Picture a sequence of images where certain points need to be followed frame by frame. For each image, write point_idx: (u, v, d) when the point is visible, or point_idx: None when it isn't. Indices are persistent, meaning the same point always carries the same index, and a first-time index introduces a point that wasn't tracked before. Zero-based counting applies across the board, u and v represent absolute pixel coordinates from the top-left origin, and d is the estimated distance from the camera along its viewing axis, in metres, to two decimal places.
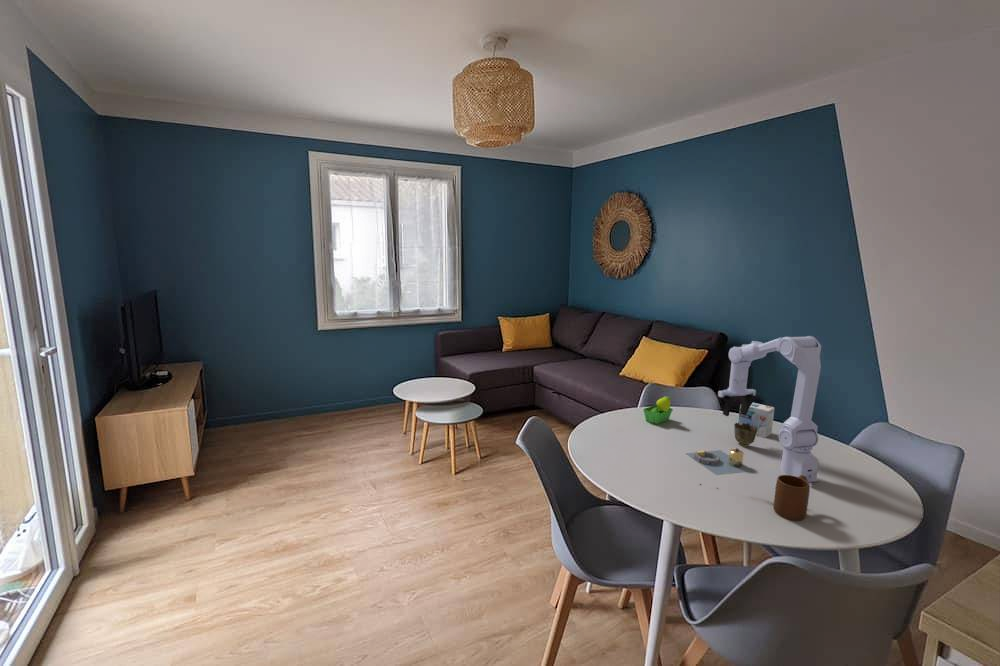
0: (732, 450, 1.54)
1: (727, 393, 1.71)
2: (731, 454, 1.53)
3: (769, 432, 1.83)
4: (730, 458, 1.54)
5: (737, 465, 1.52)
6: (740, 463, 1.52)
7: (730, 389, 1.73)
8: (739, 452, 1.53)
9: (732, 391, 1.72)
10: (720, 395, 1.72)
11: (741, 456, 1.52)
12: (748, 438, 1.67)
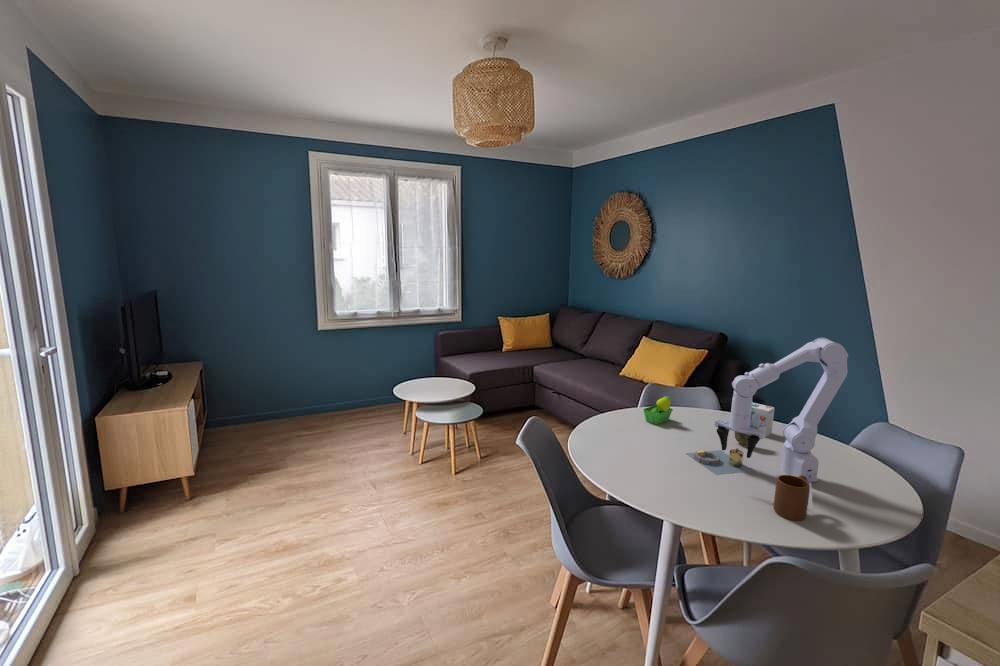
0: (732, 450, 1.54)
1: (721, 424, 1.55)
2: (731, 454, 1.53)
3: (769, 432, 1.83)
4: (730, 458, 1.54)
5: (737, 465, 1.52)
6: (740, 463, 1.52)
7: None
8: (739, 452, 1.53)
9: (729, 424, 1.53)
10: None
11: (741, 456, 1.52)
12: None
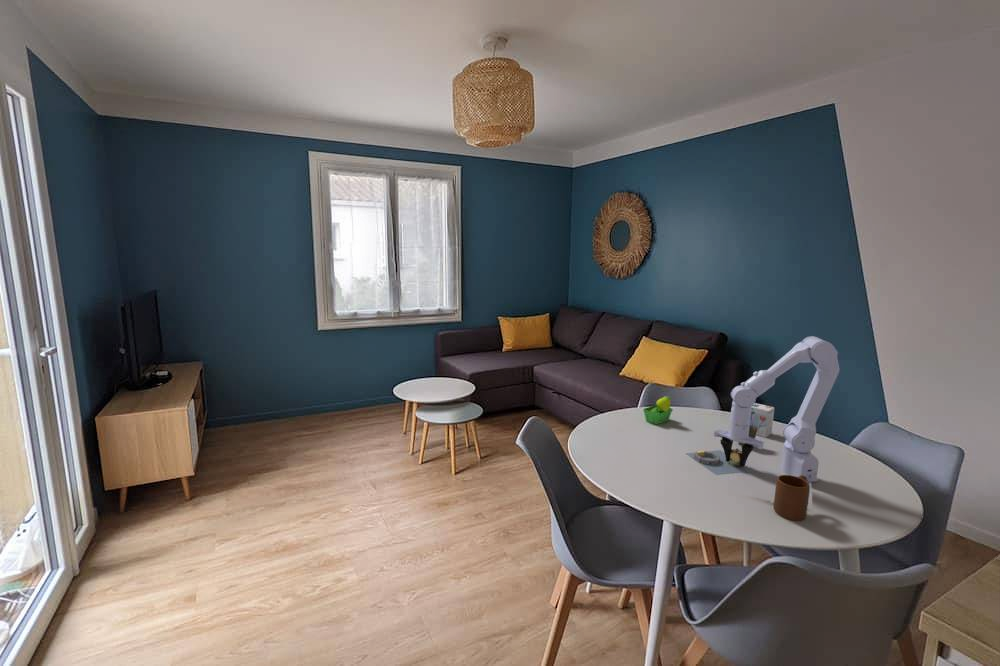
0: (732, 450, 1.54)
1: (720, 433, 1.55)
2: (731, 454, 1.53)
3: (769, 432, 1.83)
4: (730, 458, 1.54)
5: (737, 465, 1.52)
6: (740, 463, 1.52)
7: None
8: (739, 452, 1.53)
9: (728, 434, 1.54)
10: None
11: (741, 456, 1.52)
12: None
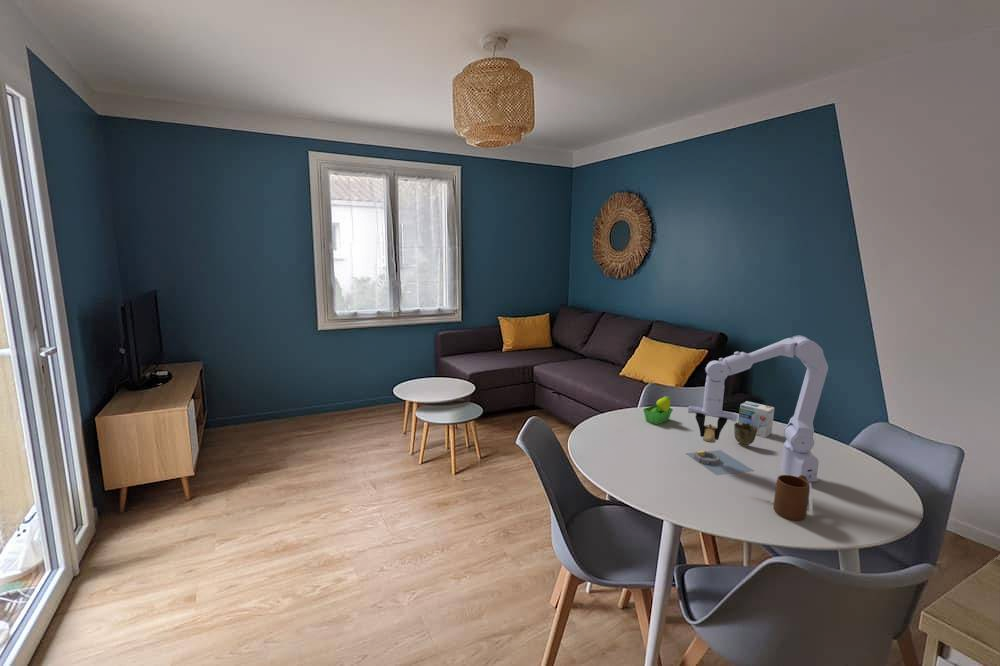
0: (706, 426, 1.56)
1: (694, 409, 1.56)
2: (706, 430, 1.55)
3: (769, 432, 1.83)
4: (705, 434, 1.55)
5: (712, 440, 1.54)
6: (714, 438, 1.54)
7: None
8: (713, 427, 1.55)
9: (702, 409, 1.55)
10: (688, 410, 1.58)
11: (715, 431, 1.54)
12: (748, 438, 1.67)
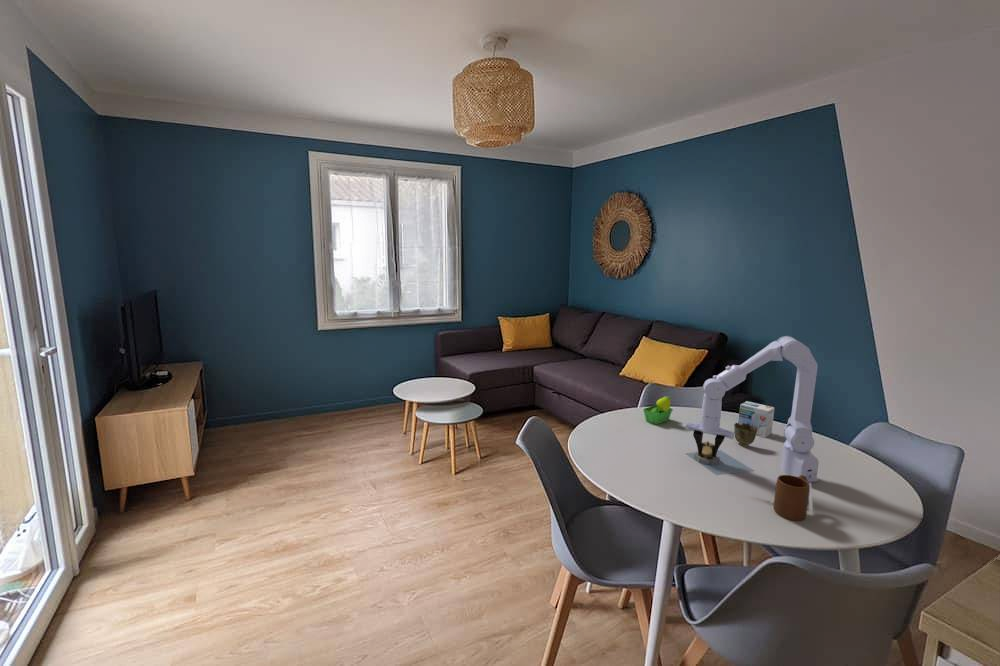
0: (703, 443, 1.57)
1: (692, 427, 1.57)
2: (703, 447, 1.56)
3: (769, 432, 1.83)
4: (702, 451, 1.56)
5: (709, 458, 1.55)
6: (712, 455, 1.55)
7: None
8: (710, 445, 1.56)
9: (700, 426, 1.56)
10: (686, 427, 1.59)
11: (713, 449, 1.55)
12: (748, 438, 1.67)
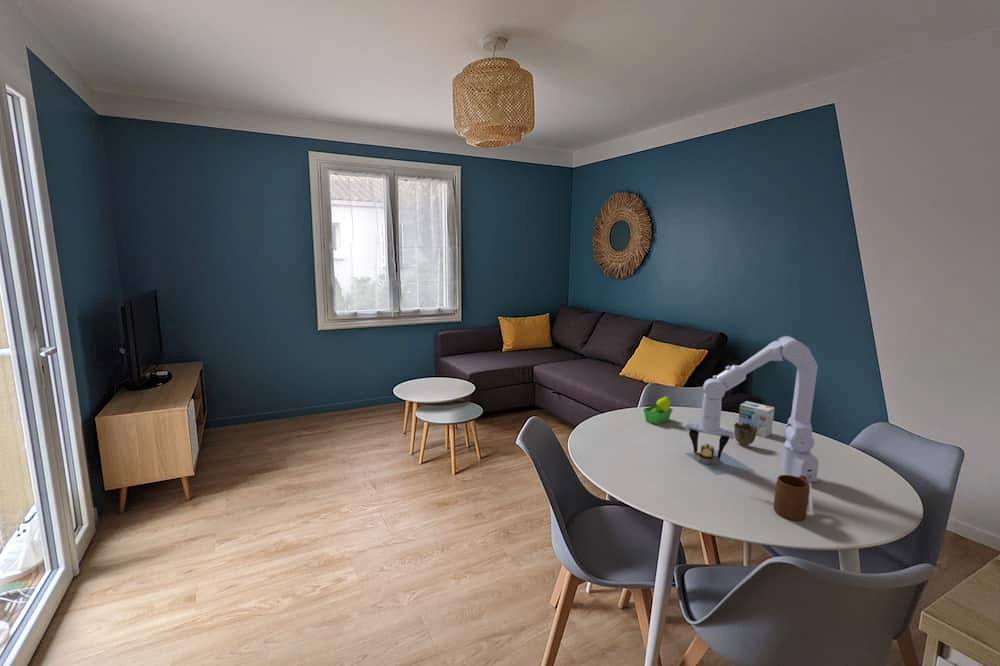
0: (703, 446, 1.57)
1: (692, 427, 1.57)
2: (703, 450, 1.56)
3: (769, 432, 1.83)
4: (702, 454, 1.56)
5: None
6: (712, 458, 1.55)
7: None
8: (710, 447, 1.56)
9: (700, 426, 1.56)
10: (686, 427, 1.59)
11: (713, 451, 1.55)
12: (748, 438, 1.67)
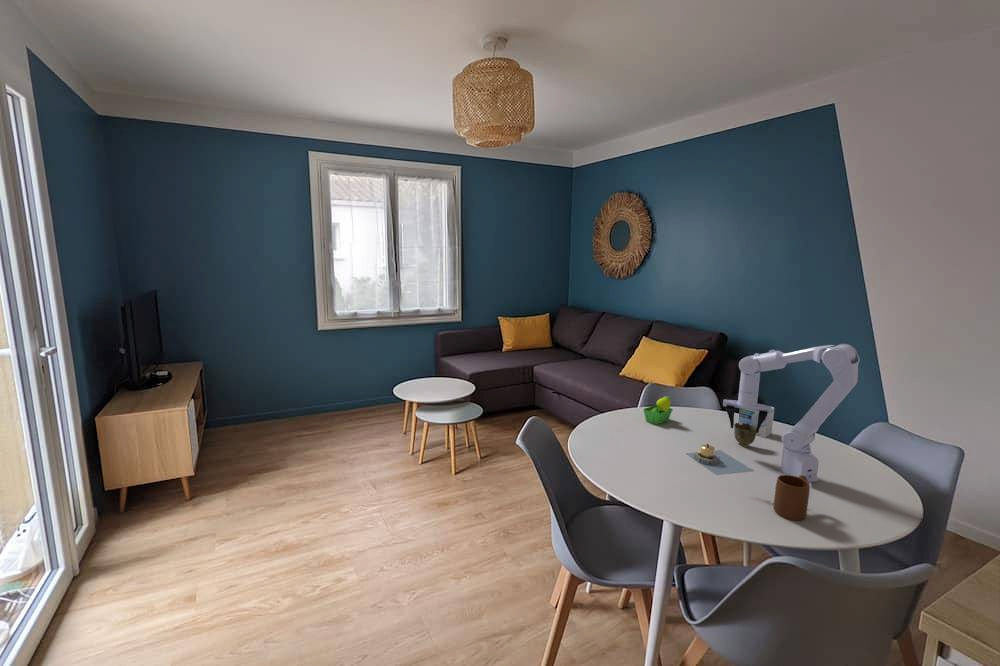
0: (703, 446, 1.57)
1: (729, 403, 1.61)
2: (703, 450, 1.56)
3: (769, 432, 1.83)
4: (702, 454, 1.56)
5: None
6: (712, 458, 1.55)
7: (738, 400, 1.61)
8: (710, 447, 1.56)
9: (737, 402, 1.60)
10: (723, 404, 1.63)
11: (712, 451, 1.55)
12: (748, 438, 1.67)
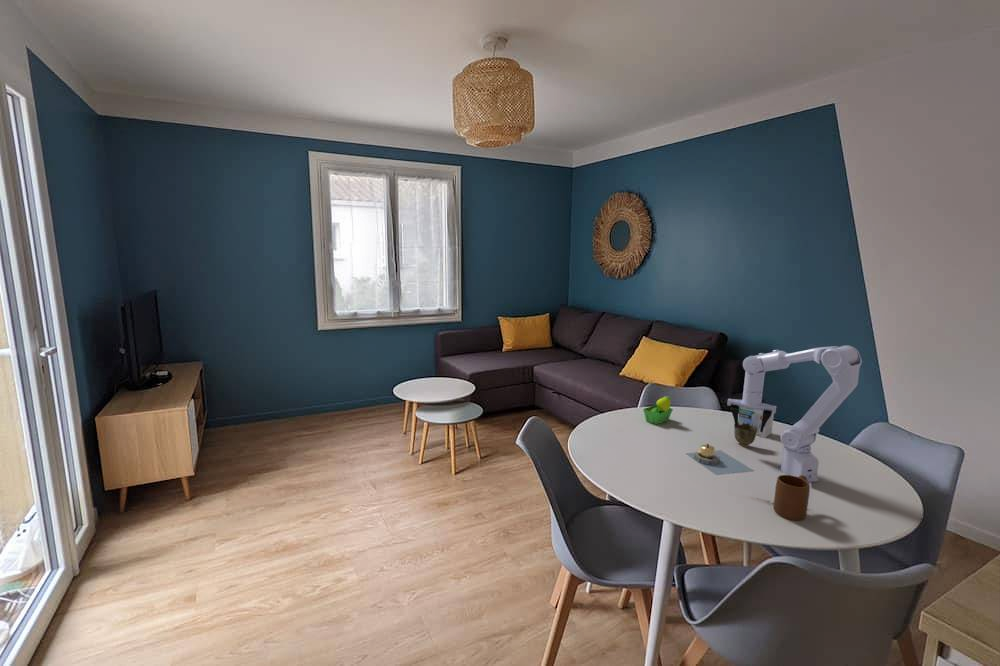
0: (703, 446, 1.57)
1: (734, 402, 1.62)
2: (703, 450, 1.56)
3: (769, 432, 1.83)
4: (702, 454, 1.56)
5: None
6: (712, 458, 1.55)
7: None
8: (710, 447, 1.56)
9: (742, 401, 1.61)
10: (727, 403, 1.64)
11: (712, 451, 1.55)
12: (748, 438, 1.67)
